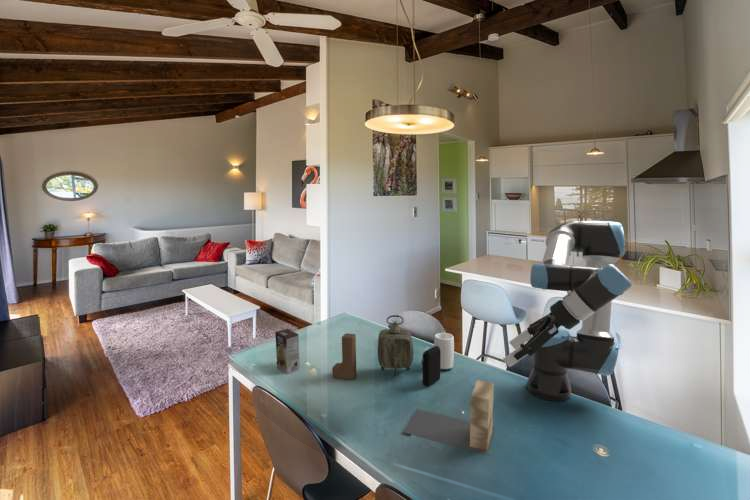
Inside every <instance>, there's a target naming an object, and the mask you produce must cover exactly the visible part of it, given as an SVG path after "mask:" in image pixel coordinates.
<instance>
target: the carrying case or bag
mask: <svg viewBox="0 0 750 500" xmlns="http://www.w3.org/2000/svg"><path fill="white" fill-rule="evenodd" d="M440 357H441V352H440V348H439V347H438V346H434V345H433V347H431V348H428V349H427V350H425V351H424V352H423V353H422V358H421V365H422V384H423V386H424V387H427V388H428V387H429V386H430V385H433V384H434V383H436V382H438V381H439V380H440V379H441V369H440Z"/></svg>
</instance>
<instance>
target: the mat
mask: <svg viewBox="0 0 750 500" xmlns="http://www.w3.org/2000/svg"><path fill="white" fill-rule="evenodd" d="M495 429H496V426H492V434H491V438H490V442H489V446H488V450H487V451H485V450H482V449H478V448H474V447H470V420H466V419H461V418H457V417H453V416H449V415H444V414H442V413H441V414H440V413H435V412H431V411H426V410H423V409H420V408H416V409H415V411H414V413H413V414H412V415H411V418H410V419H409V421H408V423H407V424H406V426H405V428H403V430H402V435H405V436H416V437H419V438H424V439H428V440H430V441H435V442H438V443H442V444H446V445H450V446H454V447H457V448H461V449H465V450H468V451H472V452H476V453H479V454H483V455H487V456H488V455H489V453H490V449H491V445H492V442H493V437H494V434H495Z"/></svg>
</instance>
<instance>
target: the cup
mask: <svg viewBox="0 0 750 500" xmlns="http://www.w3.org/2000/svg"><path fill="white" fill-rule="evenodd" d="M454 337H455V336H453V334H451V333H448V332H439V333H436V334H434V341H433V343H434V344H433V347H434V346H438V347H439V348H440V352H441V357H440V370H449V369H452V368H454V361H455V360H454V359H455V358H454V357H455V339H454Z"/></svg>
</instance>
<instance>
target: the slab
mask: <svg viewBox="0 0 750 500" xmlns="http://www.w3.org/2000/svg"><path fill="white" fill-rule="evenodd" d="M474 385H475V386H474V388H473V390H472V393H471V396H470V420H469V421H470V447H474V448H478V449H482V450H485V451H487V450H488V446H489V442H490V438H491V434H492V427H494V426H493V422H494V397H495V396H494V395H495V394H494V393H495V392H494V391H495V383H494V382H489V381H483V380H476V382H475V384H474Z"/></svg>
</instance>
